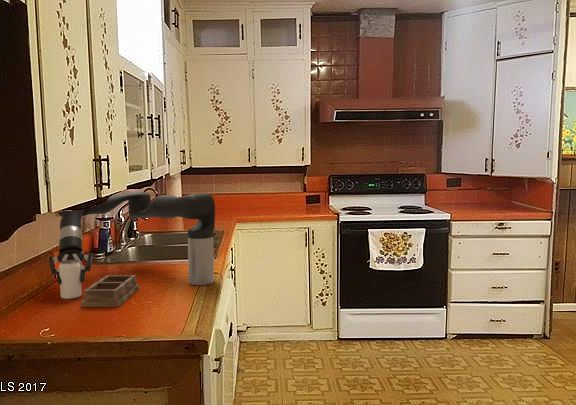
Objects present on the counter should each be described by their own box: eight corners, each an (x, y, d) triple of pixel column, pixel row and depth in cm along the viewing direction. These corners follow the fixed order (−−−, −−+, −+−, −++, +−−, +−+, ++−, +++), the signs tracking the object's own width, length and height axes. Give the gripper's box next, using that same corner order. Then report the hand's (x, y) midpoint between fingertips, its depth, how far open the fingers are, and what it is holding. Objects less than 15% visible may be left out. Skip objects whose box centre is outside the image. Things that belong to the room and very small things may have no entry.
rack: (105, 288, 172) (104, 275, 172) (139, 288, 172) (138, 274, 172) (81, 306, 151) (80, 291, 151) (119, 306, 151) (118, 291, 151)
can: (76, 299, 159) (74, 263, 158) (57, 299, 159) (55, 263, 158) (84, 293, 166) (83, 259, 165) (66, 293, 166) (64, 259, 165)
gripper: (93, 246, 176) (94, 286, 166) (49, 249, 170) (48, 290, 161) (92, 233, 170) (94, 274, 160) (47, 236, 165) (45, 278, 155)
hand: (71, 282), depth 161 cm, fingers closed on can, 6 cm apart
